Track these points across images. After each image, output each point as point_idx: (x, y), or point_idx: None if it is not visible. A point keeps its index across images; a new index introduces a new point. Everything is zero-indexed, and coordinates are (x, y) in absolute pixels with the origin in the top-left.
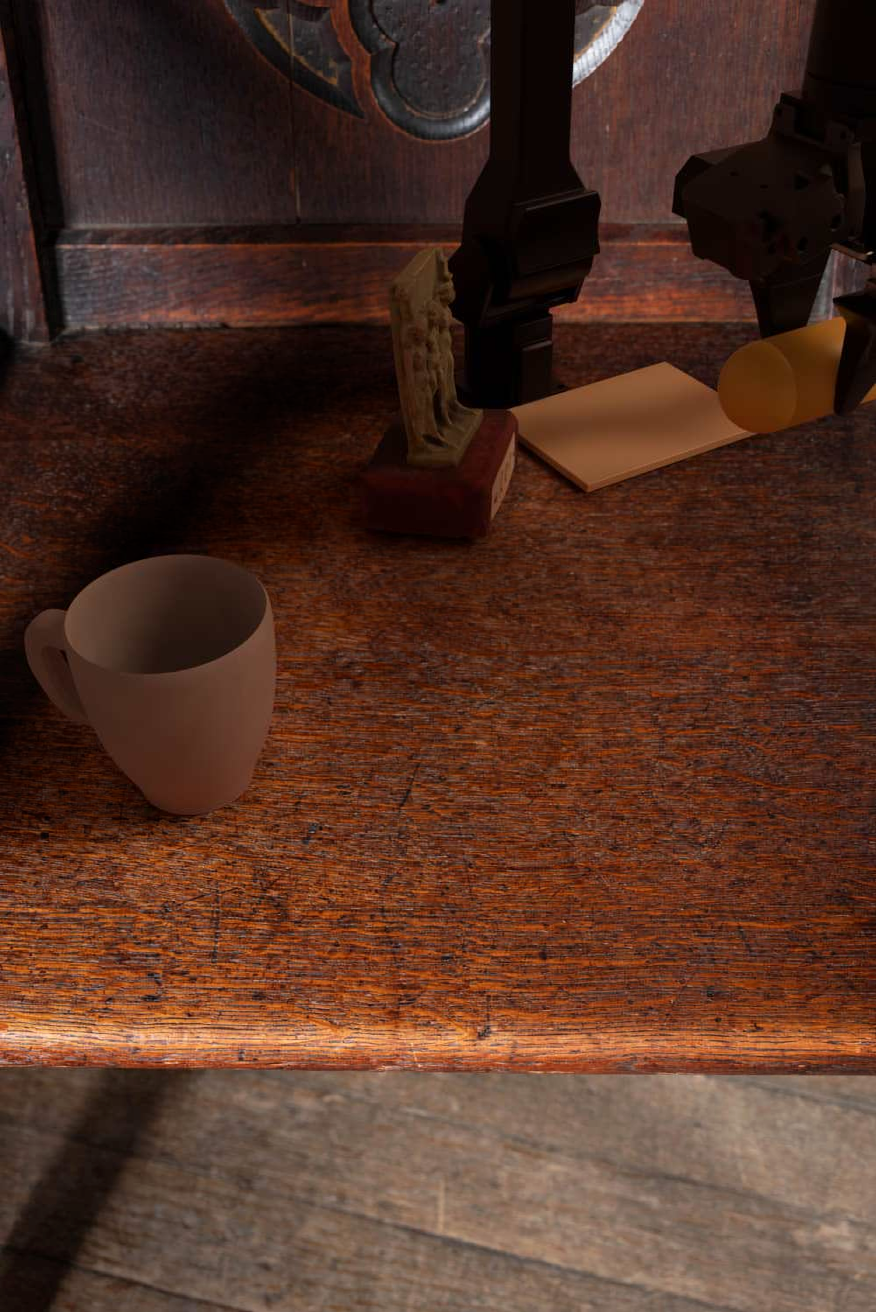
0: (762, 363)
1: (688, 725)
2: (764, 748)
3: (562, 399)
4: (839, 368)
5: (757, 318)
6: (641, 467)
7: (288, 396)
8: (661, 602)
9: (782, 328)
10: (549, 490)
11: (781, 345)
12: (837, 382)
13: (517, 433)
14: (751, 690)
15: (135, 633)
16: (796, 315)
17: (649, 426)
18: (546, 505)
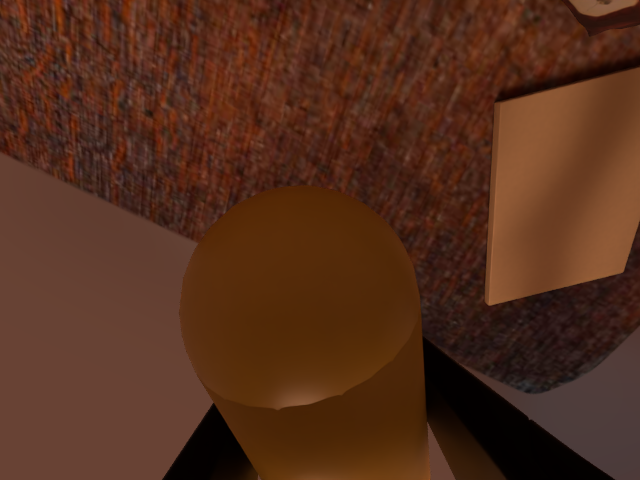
0: (233, 332)
1: (69, 7)
2: (32, 75)
3: None
4: (207, 463)
5: (518, 410)
6: (495, 175)
7: None
8: (287, 89)
9: (452, 429)
10: (523, 61)
11: (294, 423)
12: (226, 423)
13: (634, 17)
14: (129, 109)
15: None
16: (467, 476)
17: (548, 213)
18: (500, 42)
